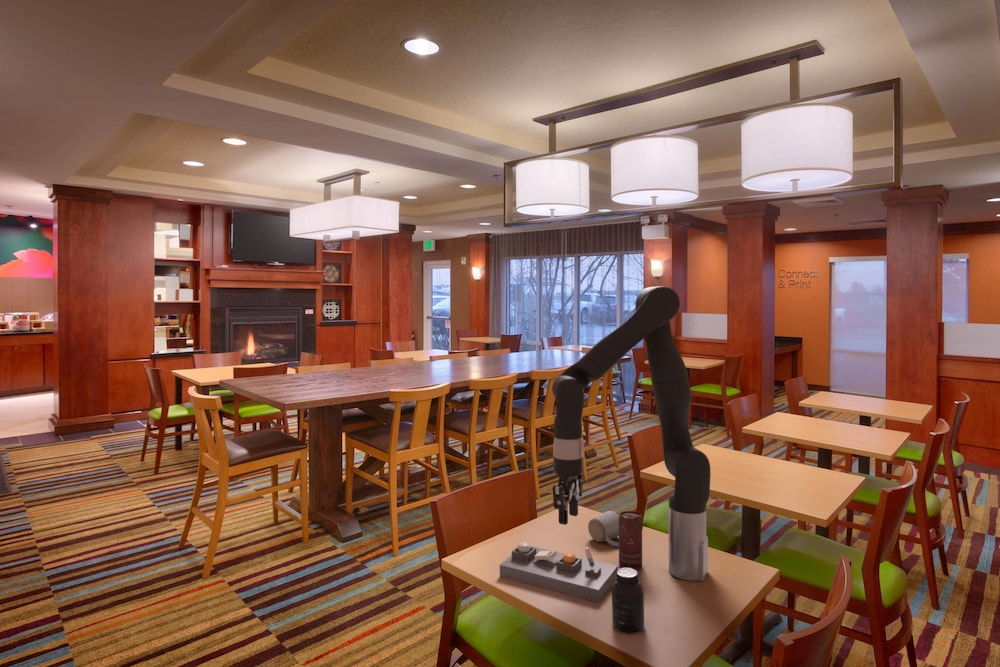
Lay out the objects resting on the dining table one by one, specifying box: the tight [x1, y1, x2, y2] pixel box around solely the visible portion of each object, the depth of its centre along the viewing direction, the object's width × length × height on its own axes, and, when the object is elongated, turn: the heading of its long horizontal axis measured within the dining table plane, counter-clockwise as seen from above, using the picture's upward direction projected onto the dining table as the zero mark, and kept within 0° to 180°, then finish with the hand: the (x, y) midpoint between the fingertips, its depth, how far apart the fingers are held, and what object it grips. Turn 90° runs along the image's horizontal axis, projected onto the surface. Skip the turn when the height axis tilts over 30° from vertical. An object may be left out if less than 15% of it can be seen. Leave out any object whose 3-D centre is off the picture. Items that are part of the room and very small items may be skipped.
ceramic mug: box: [587, 510, 619, 548], centre depth 166 cm, size 11×8×8 cm
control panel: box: [499, 545, 619, 603], centre depth 145 cm, size 27×14×5 cm, turn 60°
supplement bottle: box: [611, 567, 645, 634], centre depth 122 cm, size 7×7×12 cm
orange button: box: [563, 552, 576, 565], centre depth 143 cm, size 3×3×2 cm
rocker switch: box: [535, 550, 557, 560], centre depth 146 cm, size 5×3×1 cm
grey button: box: [517, 542, 531, 554], centre depth 150 cm, size 3×3×2 cm
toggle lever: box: [584, 547, 595, 567], centre depth 140 cm, size 1×1×5 cm
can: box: [618, 510, 644, 571], centre depth 150 cm, size 6×6×14 cm
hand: (568, 519), depth 143 cm, fingers open, 6 cm apart
